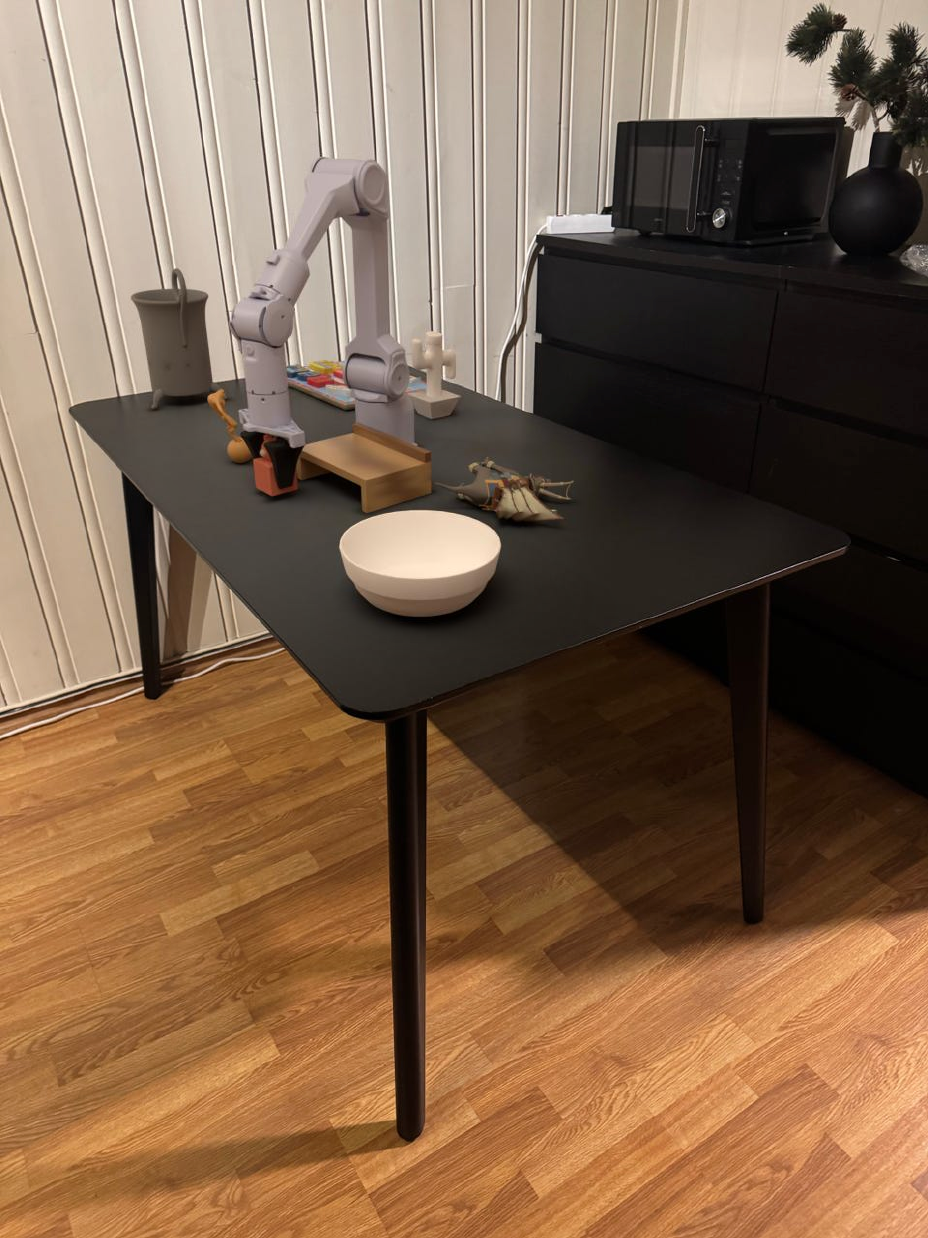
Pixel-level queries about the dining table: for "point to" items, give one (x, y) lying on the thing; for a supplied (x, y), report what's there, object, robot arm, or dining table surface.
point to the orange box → (269, 472)
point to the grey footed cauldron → (175, 340)
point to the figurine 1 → (230, 429)
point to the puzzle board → (333, 382)
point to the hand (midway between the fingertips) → (276, 482)
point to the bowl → (420, 561)
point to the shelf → (371, 465)
